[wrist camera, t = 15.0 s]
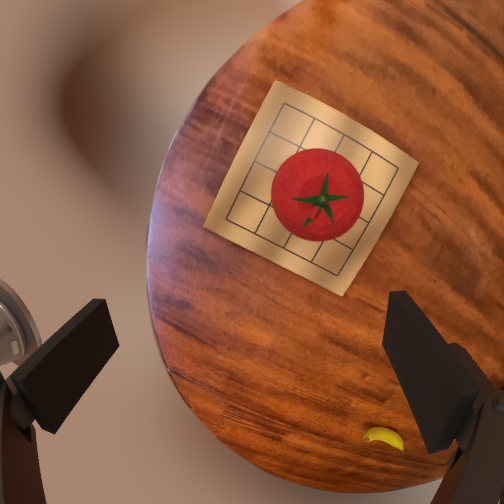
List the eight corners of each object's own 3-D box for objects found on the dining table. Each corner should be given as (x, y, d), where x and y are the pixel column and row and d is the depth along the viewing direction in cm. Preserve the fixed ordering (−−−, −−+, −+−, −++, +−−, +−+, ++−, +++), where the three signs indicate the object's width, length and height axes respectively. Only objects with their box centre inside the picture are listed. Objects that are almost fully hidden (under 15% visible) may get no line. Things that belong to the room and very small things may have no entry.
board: (204, 224, 34) (202, 227, 33) (275, 81, 28) (275, 79, 27) (340, 293, 35) (342, 297, 34) (415, 162, 29) (419, 162, 28)
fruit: (404, 430, 42) (410, 450, 38) (396, 437, 43) (402, 456, 38) (365, 419, 42) (370, 441, 37) (357, 426, 42) (361, 448, 38)
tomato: (296, 245, 33) (299, 272, 25) (257, 173, 31) (248, 178, 23) (367, 209, 31) (392, 226, 23) (331, 135, 29) (347, 128, 21)
